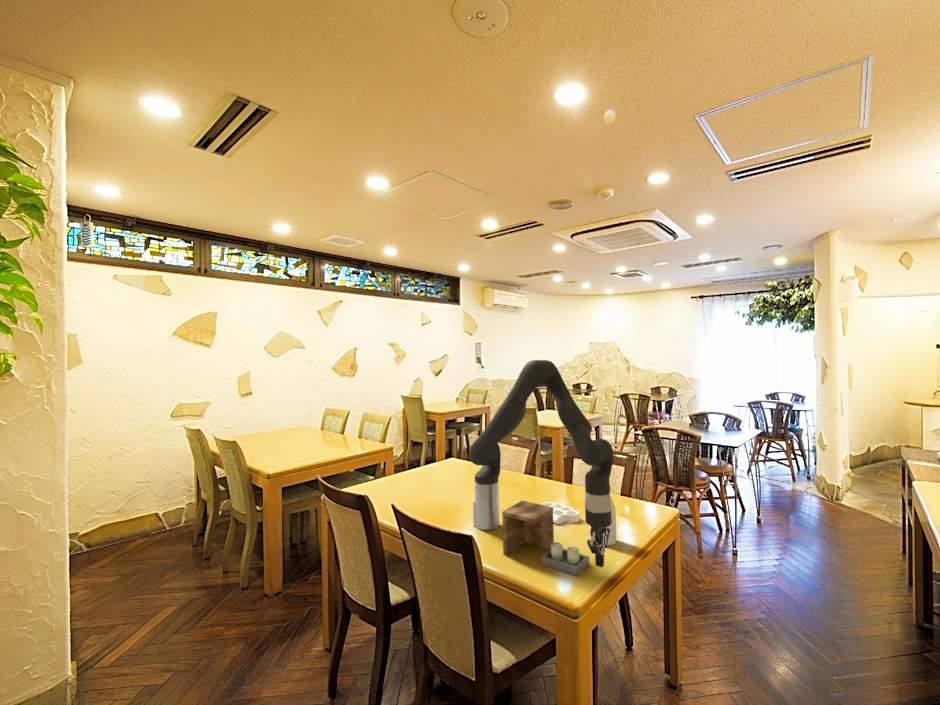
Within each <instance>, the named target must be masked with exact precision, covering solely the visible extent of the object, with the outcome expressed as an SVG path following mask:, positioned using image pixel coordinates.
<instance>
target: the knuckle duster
mask: <svg viewBox="0 0 940 705" xmlns="http://www.w3.org/2000/svg"><path fill="white" fill-rule="evenodd" d="M541 505H545V506H550V507H553V524H556V525H561V524H564V523H569V524H570V523H571V524H576V523H579V522H580V519H581V518H580V512H579V511H578V510H575V509H574V508H573V507H571V506H567V505H565V504H562V503H556V502H551V501H545V502H542V503H541Z"/></svg>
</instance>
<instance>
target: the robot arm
mask: <svg viewBox="0 0 940 705" xmlns="http://www.w3.org/2000/svg"><path fill="white" fill-rule="evenodd" d="M563 379H564V378H563V377H562V375H561V373H560V370H559V369H558V368H557V365H555V363H554V362H552V361H551V360H548V359H545V360H544V359H534V360H533V359H532V360H529V361H528V362H526V363H525V365H524V366H523V367H522V369H521V371H520V373H519V375H518V377H517V379H516V380H515V383H514V385H513V387H512V388H511V390H510V391H509V393H508V394H507V396H506V398H505V399H504V401H503V402H502V404H500V406H499V407H498V409H497V410H496V412H495V414H494V415H493V417H492V418H491V420H490V421H489V423H488V424H487V425H486V427H485V428H484V430H483V431H482V433H481V434H480V435H479V436H478V437H476V439H475V441H473V443H472V444H471V446H470V447H469V448H470V449H469V454H468V455H469V460H470V461H471V463H472V464H473V465H475V466H481V468H480V469H479V470H478V471H477V472H476V473H475V474H474V500H473V501H472V511H473V513H472V516H473V526H475V527H476V528H477V529H479V530H483V531H492V530H493V531H494V530H496V529H498V528H499V527H500V501H499V500H500V495H499V493H500V492H499V489H500V488H499V478H500V473H501V459H502V458H501V448H500V445H499V443H500V442H501V441H503V440H504V439H505V438H507V437H508V436H510V435H511V434H512V433H513V432H514V431H516V429H517V428H518V426H519V425H520V424H521V422H522V421H523V419H524V418H525V415H526V413H527V412H526V410H527V409H526V408H527V401H528V400H529V398H530V396H531V395H532V394H533V393H534V392H535V390H536V389H537V388H546V389H547V390H548V392H550V394H551V395H552V397H553V398H554V400H555V404H556V409H557V415H558V417H559V420H560V421H561V424H562V425H563V426H564V427H565V429H566V431H567V432H568V434H569V436H571V438H572V442H573V445H574V447H575V449H576V452H577V454H578V457H579V458H580V460H581V462H583V463H585V464H586V465H588V466H591V467H590V469H589V471H587V472H586V473H585V477H584V483H585V484H584V486H585V487H584V490H585V494H584V495H585V496H584V512H585V514H584V515H585V516H584V517H585V519H584V520H585V523H586V524H587V525H589V526H590V531H589V534H590V539H587V541H586V543H587V545H588V548H589V550H590V553H591V554H594V560H595V566H596V567H599V568H603V567H604V566H605V553H606V549H608V546H607V545H608V539H609V534H610V529H609V528H607V527H608V526H610V525H611V524H612V515H611V499H612V497H611V498H610V496H611V484H610V477H611V473H612V469H613V468H612V467H613V462H614V449H613V446H612V445H611V443H610V441H608V440H607V439H604V438H597V439H592V438H591V433H592V430H593V426H592V424H591V423H590V421H589V420H588V419H587V418H586V416H585V414H584V413H583V412H582V410H581V409H580V407H579V406H578V405H577V403H576V401H575V400H574V398H573V397H572V395H571V393H570V391H569V389H568V387H567V385H566V383H565V381H564V380H563Z"/></svg>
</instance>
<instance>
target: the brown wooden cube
mask: <svg viewBox="0 0 940 705" xmlns="http://www.w3.org/2000/svg"><path fill="white" fill-rule="evenodd" d="M554 535H555V533H554V523H553V507H550V506H545V505H542V503H540V504H539V503H535V502H532V501H528V500H527V501H526V500H521V501H519V502H517V503H515V504H514V505H512V506H510V507H508V508H507V509H505V510H502V547H503V548H502V553H503V555H504V556H508V555H509V554H511V553H512V552H513V551H515V550H516V549H518V548H519V547H520V546H522V545H523V544H528V545H532V546H534V547H535V546H536V547H539V548H542V549H545V550H548V551H549V550H551V543H553V542H555V539H554V538H555V537H554Z"/></svg>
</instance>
